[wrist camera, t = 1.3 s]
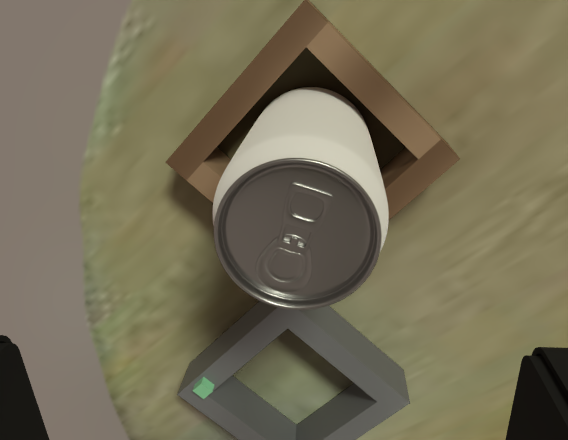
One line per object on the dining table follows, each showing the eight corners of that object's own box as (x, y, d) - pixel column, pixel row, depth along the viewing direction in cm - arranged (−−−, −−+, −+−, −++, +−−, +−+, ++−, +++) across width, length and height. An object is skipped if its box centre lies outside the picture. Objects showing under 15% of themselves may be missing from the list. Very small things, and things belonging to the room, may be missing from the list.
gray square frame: (403, 369, 33) (411, 410, 30) (297, 444, 37) (293, 488, 33) (290, 273, 31) (285, 305, 27) (189, 363, 34) (174, 401, 31)
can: (240, 179, 28) (182, 289, 17) (271, 68, 26) (226, 117, 15) (345, 212, 29) (354, 342, 18) (387, 107, 26) (427, 182, 15)
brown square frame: (446, 142, 26) (460, 158, 24) (313, 261, 30) (311, 287, 27) (308, -1, 24) (305, -1, 21) (181, 146, 28) (165, 162, 25)
